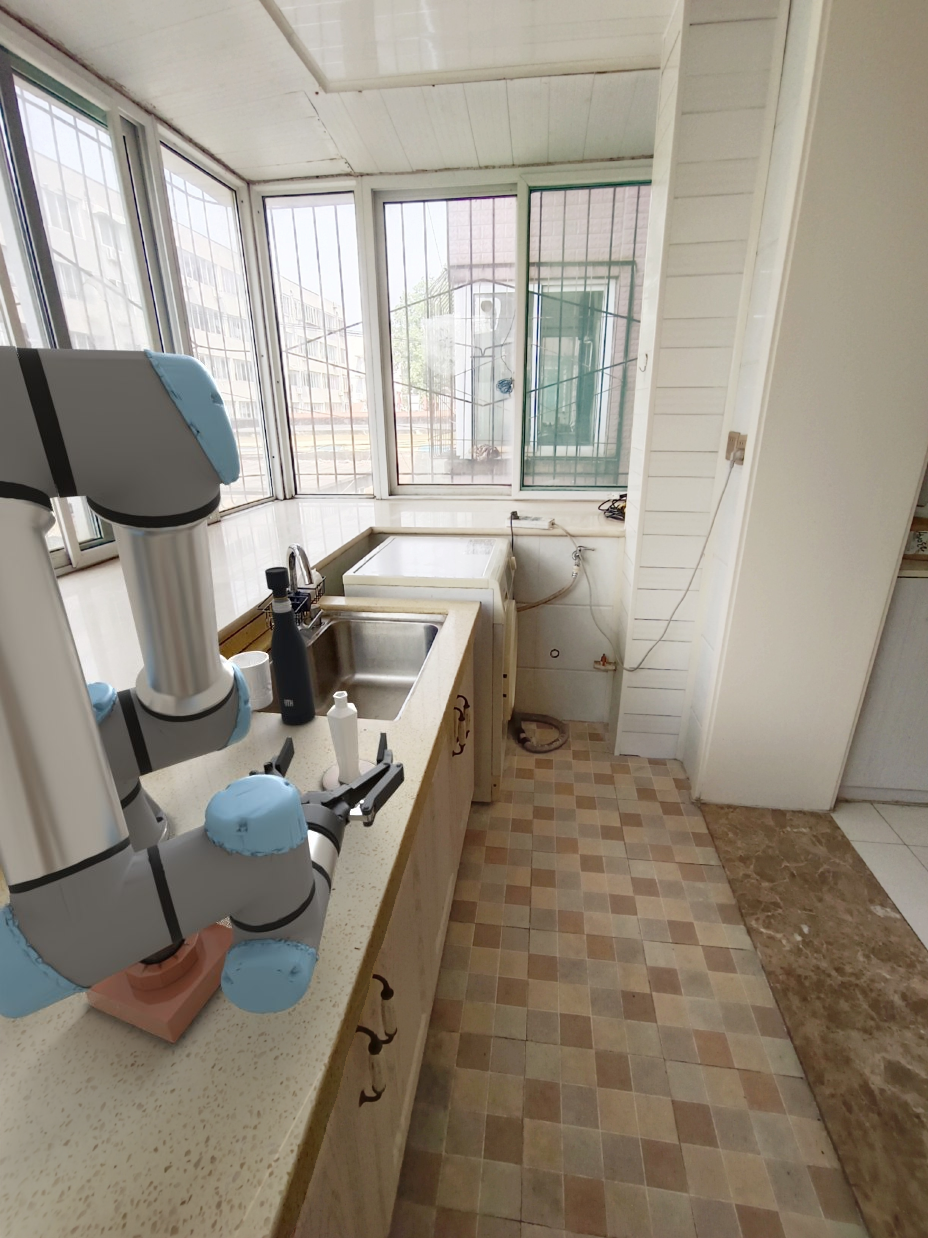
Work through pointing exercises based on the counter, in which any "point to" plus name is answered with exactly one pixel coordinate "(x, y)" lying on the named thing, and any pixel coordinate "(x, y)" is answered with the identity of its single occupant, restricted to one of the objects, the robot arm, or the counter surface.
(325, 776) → the coaster
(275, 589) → the black water bottle
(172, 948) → the dark grey disc
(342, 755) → the perfume bottle
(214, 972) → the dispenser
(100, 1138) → the counter surface
